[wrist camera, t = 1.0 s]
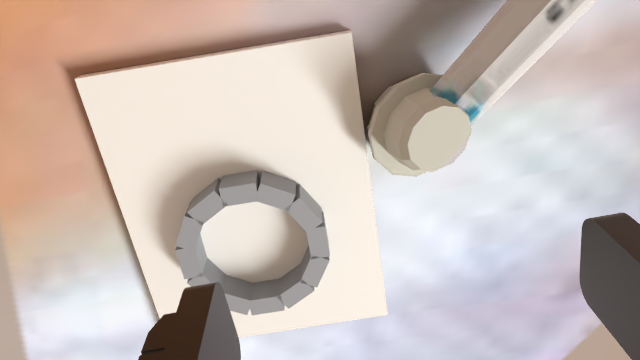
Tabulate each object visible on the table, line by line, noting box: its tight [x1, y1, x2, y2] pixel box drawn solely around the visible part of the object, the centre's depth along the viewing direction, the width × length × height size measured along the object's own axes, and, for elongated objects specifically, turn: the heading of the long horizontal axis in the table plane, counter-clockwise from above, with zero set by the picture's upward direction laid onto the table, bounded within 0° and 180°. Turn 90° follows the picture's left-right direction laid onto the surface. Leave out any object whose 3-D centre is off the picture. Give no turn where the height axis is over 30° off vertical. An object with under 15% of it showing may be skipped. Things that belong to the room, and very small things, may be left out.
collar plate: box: [75, 30, 388, 338], centre depth 33 cm, size 20×16×3 cm
